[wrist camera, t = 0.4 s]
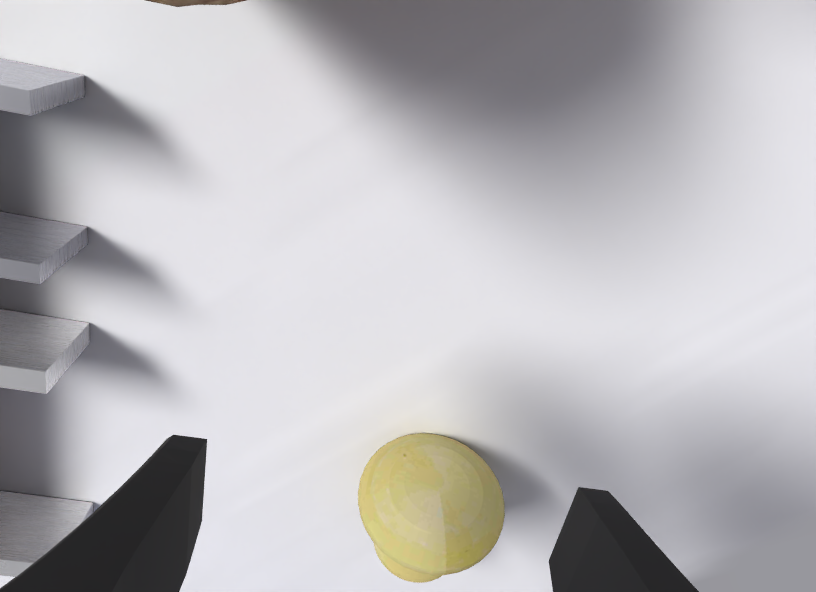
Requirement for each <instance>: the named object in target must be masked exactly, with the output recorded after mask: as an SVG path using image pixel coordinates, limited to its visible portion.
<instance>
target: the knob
mask: <svg viewBox="0 0 816 592" xmlns="http://www.w3.org/2000/svg"><path fill="white" fill-rule="evenodd" d="M358 505H359V510H360V515H361V519H362V521H363V524H364V527H365V529H366V531H367V533H368V534H369V536H370V537H371V539H372V541H373V542H374V546H375V550H376V553H377V555H378V557H379V559H380V560H381V562H382V564H383V565H384V566H385V567H386V568H387V569H388V570H389V571H390V572H391V573H393V574H394V575H396V576H397V577H399V578H401V579H404V580H406V581H410V582H428V581H432V580H435V579H437V578H439V577H441V576H442V575H447V574H452V573H458V572H460V571H463V570H466V569H468V568H470V567H472V566H474V565H475V564H477V563H478V562H480V561H481V560H482V559H483V558H484V557H485V556H486V555H487V554H488V553H489V552H490V551H491V550H492V548H493V547H494V545H495V544H496V542H497V540H498V538H499V536H500V533H501V530H502V527H503V522H504V516H505V513H504V499H503V494H502V490H501V488H500V485H499V482H498V480H497V478H496V477H495V475H494V473H493V471H492V470H491V469H490V467H489V466H488V465H487V464H486V462H485V461H484V460H483V459H482V458H481V457H480V456H479V455H478V454H477V453H476V452H474V451H473V450H471V449H470V448H468V447H467V446H466V445H464V444H462V443H460V442H458V441H456V440H453V439H451V438H448V437H445V436H441V435H435V434H423V433H420V434H411V435H406V436H403V437H399V438H397V439H395V440H393V441H390V442H388V443H387V444H386V445H384V446H383V447H381V448H380V449H379V450H378V451H377V452H376V453H375V454H374V455H373V456H372V457H371V459H370V460H369V462H368V463H367V465H366V467H365V469H364V471H363V474H362V476H361V479H360V485H359V490H358Z"/></svg>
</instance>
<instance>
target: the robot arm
mask: <svg viewBox="0 0 816 592" xmlns="http://www.w3.org/2000/svg"><path fill="white" fill-rule="evenodd" d="M206 448H207V439H202V438H194V437H186V436H179V435H172V436H171V437H169V438H168V439H166V441H165V442H164V443H163V444H162V445H161V446H160V447H159V448H158V449H157V450H156V451H155V453H154V454H153V455H152V456H151V457H150V458H149V459H148V460H147V461H146V462H145V463H144V464H143V465H142V466H141V467H140V468H139V469H138V470H137V471H136V472H135V473H134V474H133V475H132V476H131V477H130V478H129V479H128V480H127V481H126V482H125V483H124V484H123V485H122V486H121V487H120V488H119V489H118V490H117V491H116V492H115V493H114V494H113V495H112V496H111V497H109V498H108V499H107V500H106V501H105V502H104V503H103V504H102V505H101V506H100V507H99V508H98V509H97V510H96V511H95V512H93V513H92V514H91V515H90V516H89V517H88V518H87V519H86V520H85V521H83V522H82V523H81V524H80V525H79V526H78V527H76V528H75V529H74V530H73V531H72V532H71V533H69V534H68V535H67V536H66V537H65V538H63V539H62V540H61V541H60V542H59V543H58V544H56V545H55V546H54V547H53V548H52V549H51V550H49V551H48V552H47V553H46V554H45V555H43V556H42V557H41V558H40V559H38V560H37V561H36V562H34V563H33V564H32V565H31V566H29V567H28V568H27V569H26V570H24V571H23V572H22V573H20V574H19V575H18V576H16V577H15V578H14V579H12V580H11V581H10V582H8V583H7V584H6V585H4V586H3V587H2V588H0V592H179V591H180V588H181V586H182V583H183V581H184V578H185V576H186V573H187V570H188V566H189V563H190V560H191V556H192V553H193V550H194V546H195V543H196V539H197V536H198V532H199V529H200V525H201V522H202V509H203V494H204V478H205V463H206ZM549 566H550V573H551V580H552V587H553V592H699V591H698V590H697V589H696V588H695V587H694V586H693V585H692V584H691V583H690V582H689V581H688V580H687V579H686V577H685V576H684V575H683V574H682V573H681V572H680V571H679V570H678V569H677V568H676V566H675V565H674V564H673V563H672V562H671V561H670V560H669V559H668V558H667V556H666V555H665V554H664V553H663V552H662V551H661V550H660V549H659V548H658V546H657V545H656V544H655V543H654V542H653V541H652V540H651V538H650V537H649V536H648V535H647V534H646V533H645V532H644V530H643V529H642V528H641V527H640V526H639V525H638V524H637V522H636V521H635V520H634V519H633V518H632V517H631V516H630V515H629V513H628V512H627V511H626V510H625V509H624V508H623V507H622V506H621V504H620V503H619V502H618V501H617V500H616V499H615V498H614V497H613V496H612V495H611V494H610V493H609V492H608V491H604V490H596V489H588V488H581V487H578V490H577V492H576V495H575V497H574V500H573V502H572V505H571V507H570V510H569V512H568V515H567V517H566V520H565V522H564V524H563V527H562V529H561V532H560V534H559V537H558V539H557V542H556V544H555V547H554V549H553V552H552V554H551V557H550V559H549Z"/></svg>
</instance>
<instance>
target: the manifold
mask: <svg viewBox="0 0 816 592" xmlns="http://www.w3.org/2000/svg"><path fill="white" fill-rule="evenodd" d="M83 97H85V89H84V75H81V74H76V73H71V72H66V71H61V70H56V69H51V68H46V67H41V66H36V65H31V64H26V63H21V62H16V61H11V60H6V59H1V58H0V110H3V111H8V112H13V113H18V114H24V115H29V116H32V115H34V114H37V113H40V112H43V111H46V110H49V109H51V108H54V107H57V106H60V105H63V104H66V103H69V102H71V101H74V100H77V99H80V98H83ZM87 244H88V236H87V227H86V226H80V225H75V224H69V223H63V222H57V221H52V220H46V219H40V218H35V217H29V216H23V215H17V214H12V213H6V212H0V278H5V279H11V280H17V281H23V282H29V283H35V284H41V283H42V282H44V281H45V280H46V279H47V278H48V277H50V276H51V275H52V274H53V273H54V272H55V271H57V270H58V269H59V268H60V267H61V266H63V265H64V264H65V263H66V262H67V261H68V260H70V259H71V258H72V257H73V256H74V255H76V254H77V253H78V252H79V251H80V250H81V249H83V248H84V247H85V246H86V245H87ZM89 343H90V334H89V323H86V322H80V321H73V320H67V319H61V318H54V317H48V316H42V315H35V314H29V313H23V312H16V311H10V310H4V309H0V387H1V388H8V389H15V390H22V391H29V392H36V393H43V394H47V393H48V392H49V391H50V389H51V388H52V387H53V386H54V385H55V384H56V382H57V381H58V380H59V379H60V378H61V376H62V375H63V374H64V373H65V372H66V371H67V369H68V368H69V367H70V366H71V365H72V363H73V362H74V361H75V360H76V359H77V358H78V356H79V355H80V354H81V353H82V352H83V350H84V349H85V348H86V347H87V346H88V345H89ZM92 513H93V503H92V502H84V501H76V500H68V499H60V498H53V497H45V496H37V495H29V494H21V493H13V492H5V491H0V575H4V576H13V577H16V576H18V575H19V574H20V573H22V572H23V571H24V570H26V569H27V568H28V567H29V566H31V565H32V564H33V563H34V562H36V561H37V560H38V559H40V558H41V557H42V556H43V555H45V554H46V553H47V552H48V551H49V550H51V549H52V548H53V547H54V546H55V545H56V544H58V543H59V542H60V541H61V540H62V539H63V538H65V537H66V536H67V535H68V534H69V533H71V532H72V531H73V530H74V529H75V528H76V527H78V526H79V525H80V524H81V523H82V522H83V521H85V520H86V519H87V518H88V517H89V516H90V515H91V514H92Z"/></svg>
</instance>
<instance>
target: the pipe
mask: <svg viewBox="0 0 816 592" xmlns="http://www.w3.org/2000/svg"><path fill="white" fill-rule="evenodd" d="M146 1H151V2H156V3H161V4H166V5H171V6H176V7H181V6H190V5H227V4H232V3H237V2H241V1H246V0H146Z"/></svg>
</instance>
